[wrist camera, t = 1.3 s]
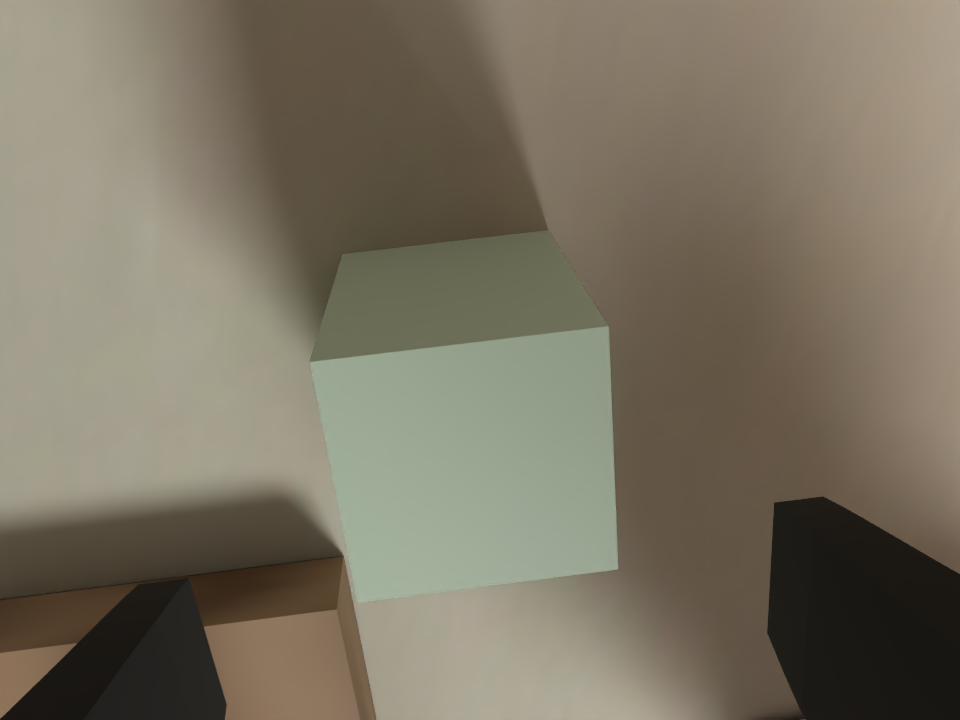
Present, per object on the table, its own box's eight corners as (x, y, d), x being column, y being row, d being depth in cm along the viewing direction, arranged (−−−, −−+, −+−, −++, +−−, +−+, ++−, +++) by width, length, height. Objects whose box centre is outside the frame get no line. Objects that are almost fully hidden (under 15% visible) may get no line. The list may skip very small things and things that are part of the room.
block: (548, 229, 18) (609, 326, 12) (560, 412, 19) (618, 569, 14) (342, 253, 18) (309, 362, 12) (373, 435, 19) (357, 602, 14)
